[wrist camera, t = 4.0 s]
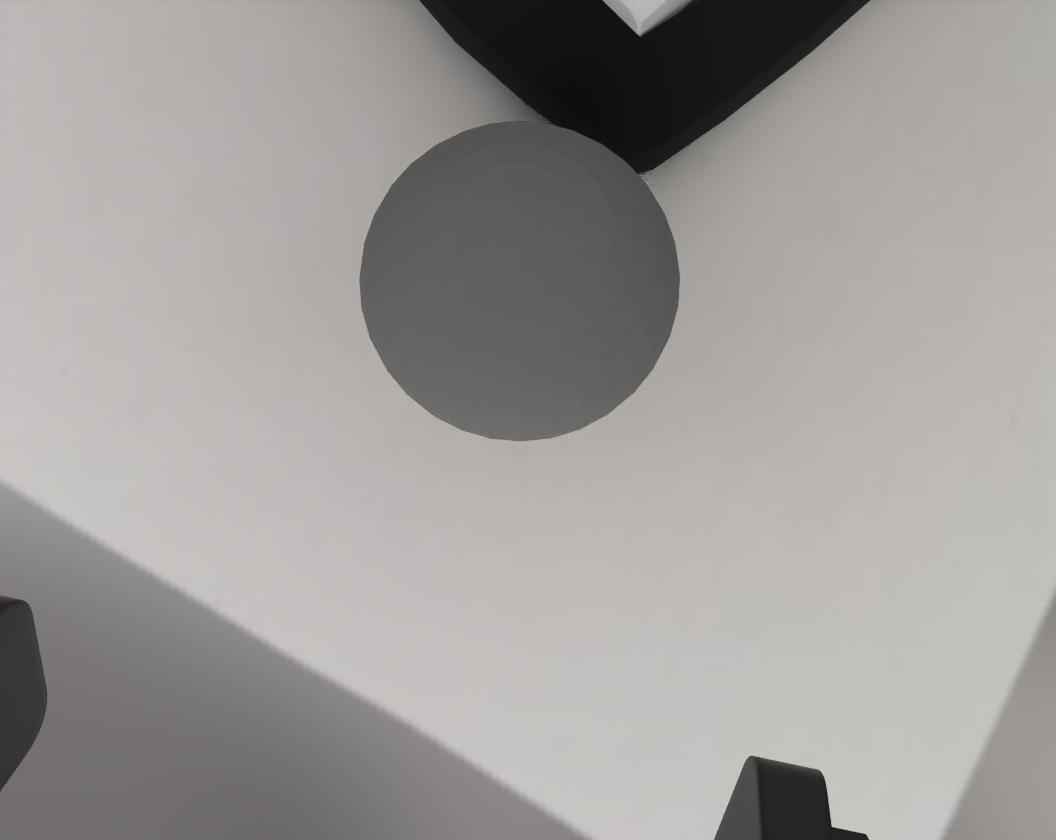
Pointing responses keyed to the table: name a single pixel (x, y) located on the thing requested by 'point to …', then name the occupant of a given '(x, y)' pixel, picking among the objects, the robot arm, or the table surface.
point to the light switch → (639, 60)
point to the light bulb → (519, 281)
